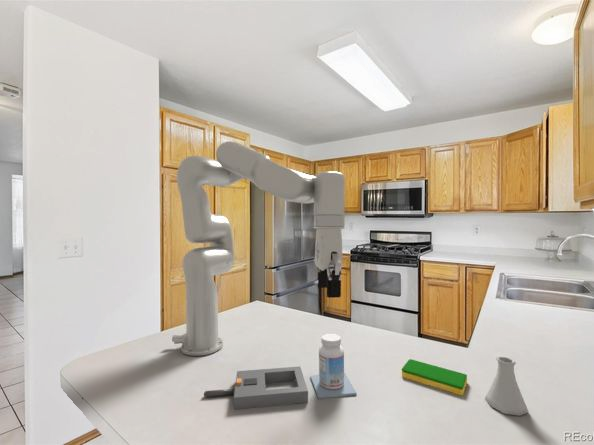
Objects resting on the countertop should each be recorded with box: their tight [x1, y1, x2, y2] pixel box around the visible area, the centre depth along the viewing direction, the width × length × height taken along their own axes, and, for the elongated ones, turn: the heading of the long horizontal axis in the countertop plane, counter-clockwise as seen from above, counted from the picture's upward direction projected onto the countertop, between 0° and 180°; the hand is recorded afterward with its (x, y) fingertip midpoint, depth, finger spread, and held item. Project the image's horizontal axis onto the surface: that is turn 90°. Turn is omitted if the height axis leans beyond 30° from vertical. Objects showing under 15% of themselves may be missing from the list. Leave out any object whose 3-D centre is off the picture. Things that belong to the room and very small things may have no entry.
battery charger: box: [203, 365, 309, 410], centre depth 68 cm, size 23×11×3 cm, turn 98°
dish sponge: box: [401, 358, 468, 396], centre depth 73 cm, size 7×14×2 cm, turn 52°
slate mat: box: [310, 372, 358, 399], centre depth 71 cm, size 9×9×1 cm
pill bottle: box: [318, 333, 345, 389], centre depth 71 cm, size 6×6×11 cm
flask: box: [484, 356, 529, 417], centre depth 63 cm, size 7×7×10 cm
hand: (328, 291), depth 72 cm, fingers open, 9 cm apart
